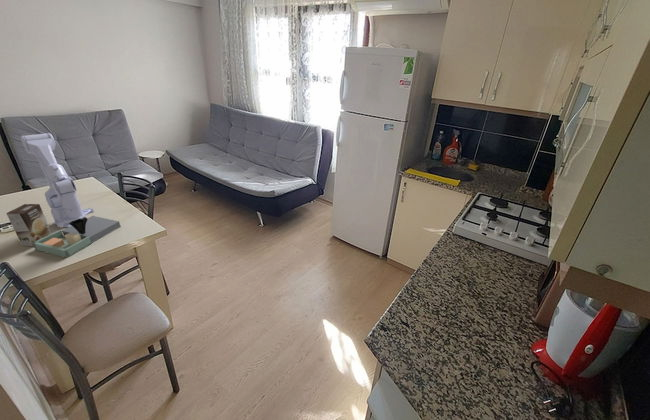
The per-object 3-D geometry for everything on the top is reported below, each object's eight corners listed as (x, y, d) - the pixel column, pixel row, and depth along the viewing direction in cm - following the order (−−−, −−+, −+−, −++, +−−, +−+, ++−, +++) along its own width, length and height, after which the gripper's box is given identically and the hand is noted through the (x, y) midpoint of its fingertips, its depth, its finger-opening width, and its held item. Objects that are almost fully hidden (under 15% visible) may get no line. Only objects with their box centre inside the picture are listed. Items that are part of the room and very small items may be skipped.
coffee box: (37, 246, 127) (22, 213, 119) (21, 246, 126) (5, 213, 119) (53, 234, 135) (39, 203, 128) (38, 234, 134) (23, 203, 127)
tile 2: (74, 242, 130) (68, 245, 128) (70, 232, 128) (64, 235, 126) (83, 244, 129) (77, 247, 127) (79, 234, 127) (73, 237, 125)
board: (64, 236, 134) (61, 230, 133) (94, 220, 147) (92, 215, 146) (92, 242, 131) (90, 237, 130) (120, 226, 144) (119, 221, 143)
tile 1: (53, 237, 128) (55, 242, 129) (41, 243, 124) (43, 248, 125) (62, 239, 127) (64, 244, 128) (50, 245, 123) (53, 250, 124)
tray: (35, 249, 125) (32, 243, 123) (62, 236, 134) (59, 230, 132) (67, 257, 121) (64, 250, 120) (91, 243, 131) (89, 237, 129)
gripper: (61, 215, 117) (73, 243, 124) (95, 200, 130) (104, 226, 136) (48, 212, 119) (60, 240, 125) (82, 198, 131) (92, 224, 138)
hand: (82, 233), depth 131 cm, fingers closed
